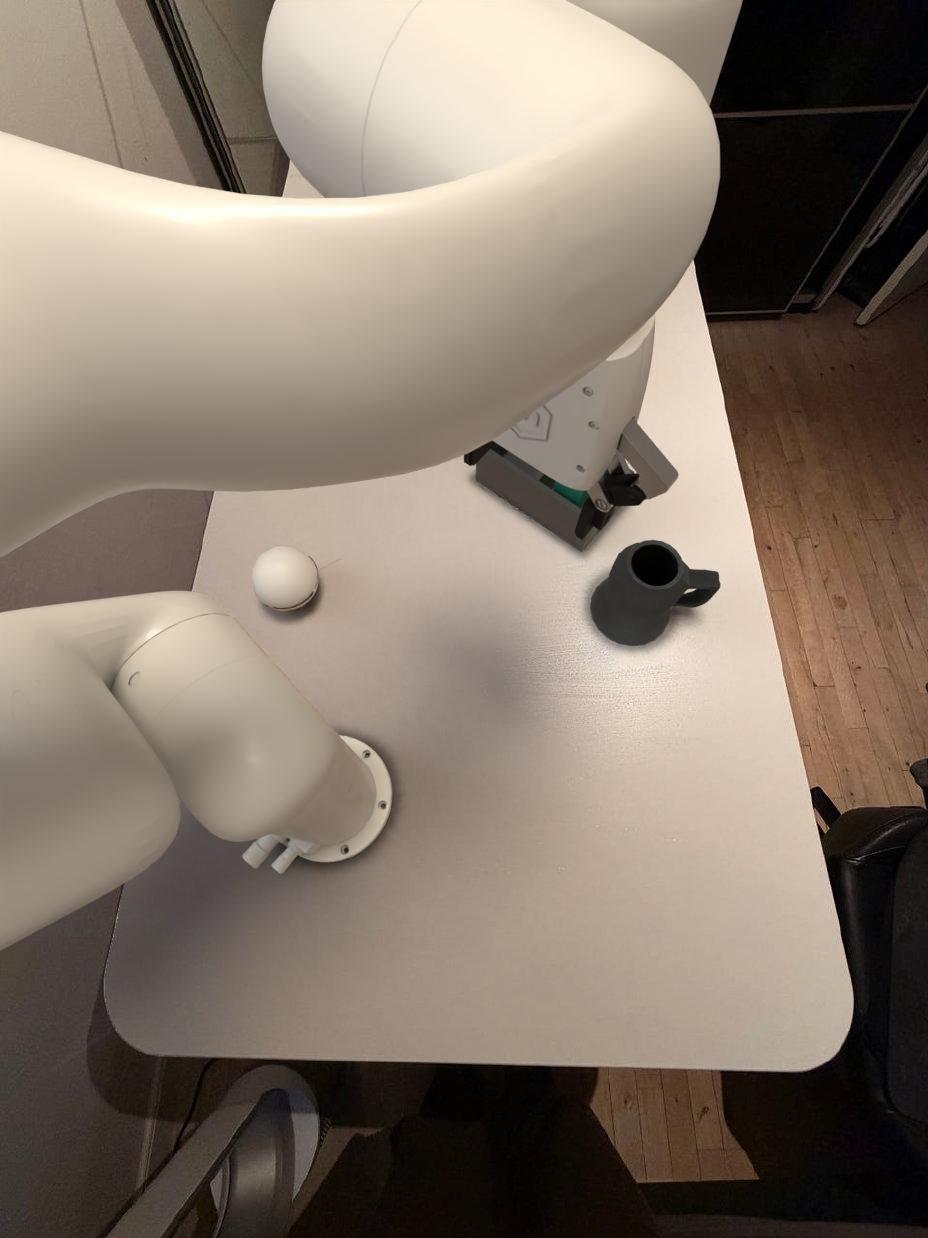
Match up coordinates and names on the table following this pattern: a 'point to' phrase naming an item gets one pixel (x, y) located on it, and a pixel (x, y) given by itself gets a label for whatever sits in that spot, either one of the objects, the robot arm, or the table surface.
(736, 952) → the table surface
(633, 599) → the mug
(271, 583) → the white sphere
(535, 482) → the compartment box
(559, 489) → the detergent bottle
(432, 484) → the table surface
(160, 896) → the table surface
